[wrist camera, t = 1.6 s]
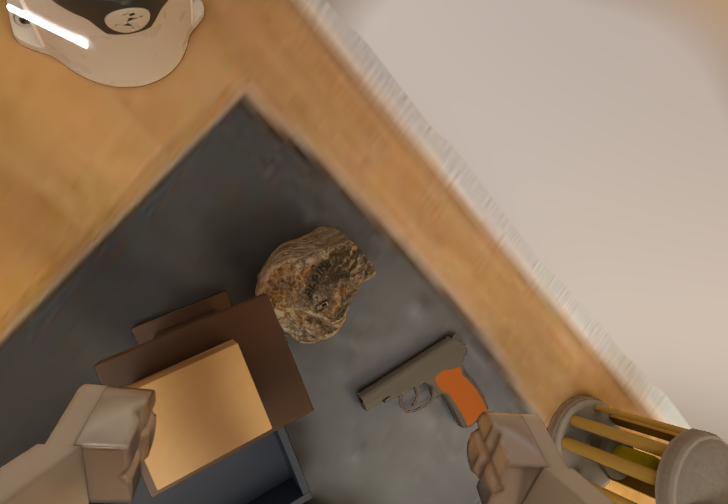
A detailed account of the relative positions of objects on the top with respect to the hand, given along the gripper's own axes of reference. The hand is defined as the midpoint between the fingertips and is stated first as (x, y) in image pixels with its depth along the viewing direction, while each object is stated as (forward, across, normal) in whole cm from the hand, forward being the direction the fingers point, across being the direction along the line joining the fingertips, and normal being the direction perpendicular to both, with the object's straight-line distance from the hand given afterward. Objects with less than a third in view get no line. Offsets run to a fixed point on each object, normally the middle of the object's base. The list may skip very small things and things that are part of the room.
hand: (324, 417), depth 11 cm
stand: (+32, +10, +26) cm, 42 cm away
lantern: (+35, -47, +42) cm, 72 cm away
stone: (+39, -2, +21) cm, 44 cm away
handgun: (+34, -19, +34) cm, 52 cm away
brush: (+10, +9, +14) cm, 19 cm away
